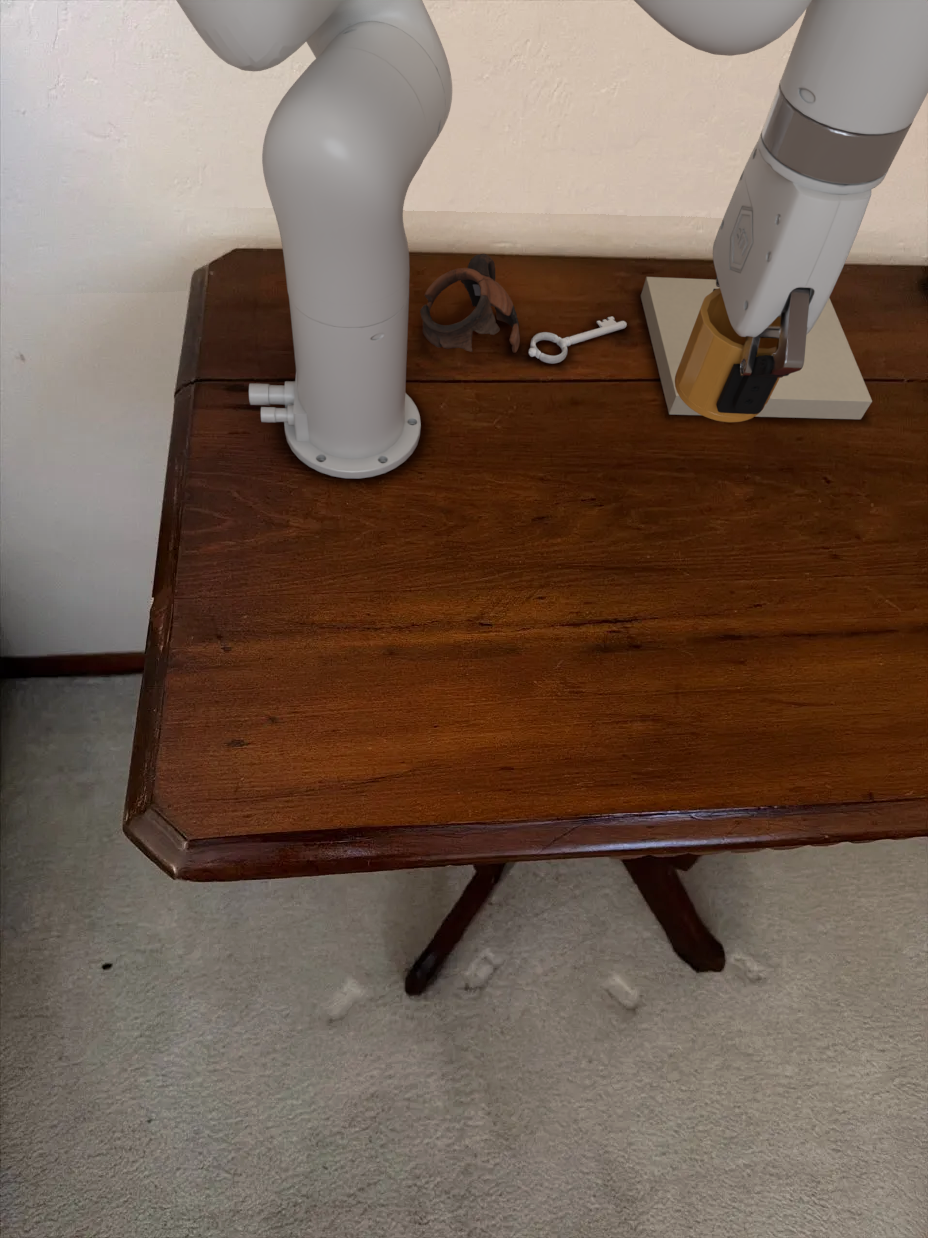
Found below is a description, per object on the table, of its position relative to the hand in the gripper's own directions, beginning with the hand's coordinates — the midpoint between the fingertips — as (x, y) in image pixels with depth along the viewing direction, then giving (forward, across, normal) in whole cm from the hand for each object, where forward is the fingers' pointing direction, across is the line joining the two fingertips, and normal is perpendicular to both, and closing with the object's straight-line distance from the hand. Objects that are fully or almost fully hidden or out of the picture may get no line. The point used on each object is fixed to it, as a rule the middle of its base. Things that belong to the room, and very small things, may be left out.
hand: (727, 370), depth 65 cm
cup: (+2, 0, 0) cm, 2 cm away
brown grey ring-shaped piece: (+18, -24, -17) cm, 34 cm away
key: (+18, -23, -6) cm, 30 cm away
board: (+18, -23, +12) cm, 32 cm away
